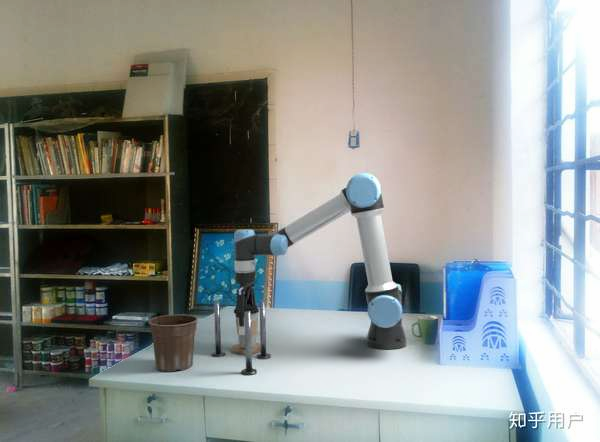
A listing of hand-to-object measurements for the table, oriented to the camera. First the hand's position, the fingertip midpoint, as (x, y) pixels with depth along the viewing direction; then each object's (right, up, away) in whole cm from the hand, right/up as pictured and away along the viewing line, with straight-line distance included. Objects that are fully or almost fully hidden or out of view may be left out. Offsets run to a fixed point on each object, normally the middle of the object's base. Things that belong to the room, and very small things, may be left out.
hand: (246, 331), depth 197 cm
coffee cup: (0, -6, 0) cm, 6 cm away
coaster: (0, -7, 0) cm, 7 cm away
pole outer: (+3, -8, -25) cm, 27 cm away
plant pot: (-23, -9, -17) cm, 30 cm away
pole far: (-10, -7, -5) cm, 13 cm away
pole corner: (+7, -7, -9) cm, 13 cm away
